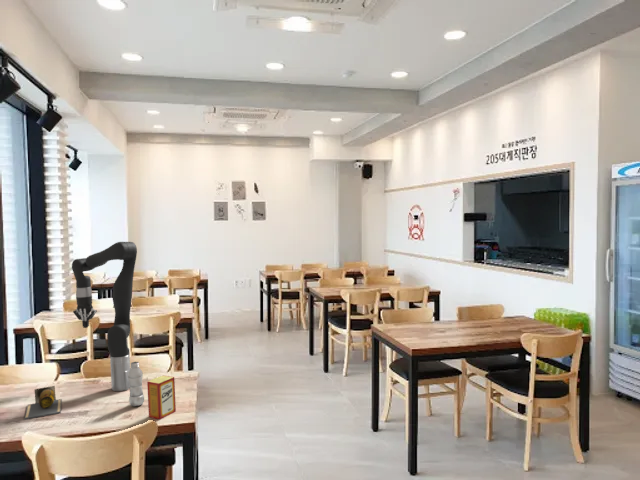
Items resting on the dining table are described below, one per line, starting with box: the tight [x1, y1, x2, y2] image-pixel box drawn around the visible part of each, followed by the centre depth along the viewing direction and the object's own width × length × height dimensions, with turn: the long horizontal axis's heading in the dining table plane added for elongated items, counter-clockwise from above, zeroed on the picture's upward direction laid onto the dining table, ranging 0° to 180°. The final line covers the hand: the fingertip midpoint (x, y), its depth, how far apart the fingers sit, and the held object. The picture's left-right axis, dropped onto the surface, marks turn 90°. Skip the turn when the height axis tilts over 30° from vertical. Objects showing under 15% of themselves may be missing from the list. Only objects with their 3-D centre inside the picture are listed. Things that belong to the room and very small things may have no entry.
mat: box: [24, 398, 62, 420], centre depth 225 cm, size 18×14×1 cm
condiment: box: [33, 385, 57, 408], centre depth 228 cm, size 7×8×12 cm
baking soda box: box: [146, 375, 177, 420], centre depth 215 cm, size 10×6×16 cm
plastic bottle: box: [128, 361, 145, 407], centre depth 226 cm, size 6×7×20 cm
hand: (85, 327), depth 262 cm, fingers closed
